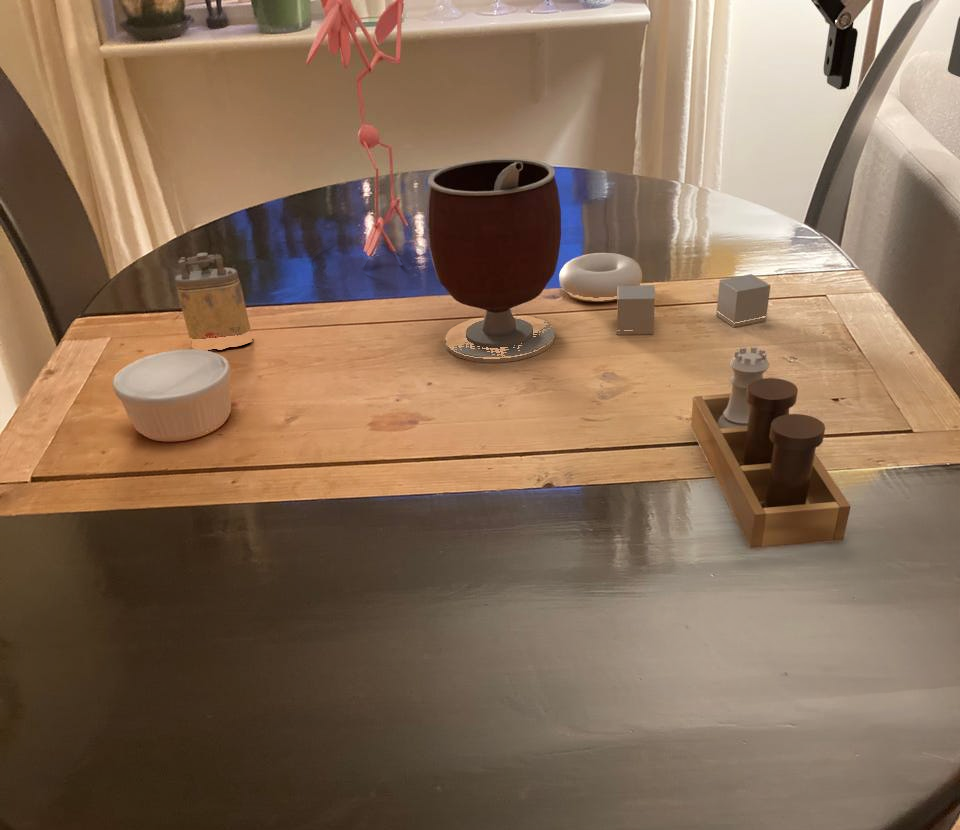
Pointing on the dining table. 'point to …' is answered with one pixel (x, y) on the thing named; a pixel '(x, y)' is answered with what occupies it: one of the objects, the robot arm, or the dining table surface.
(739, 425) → the rook chess piece
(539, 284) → the mate gourd
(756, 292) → the grey block
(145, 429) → the ramekin
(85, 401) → the dining table surface
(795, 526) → the rack
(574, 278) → the donut
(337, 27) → the figurine
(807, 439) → the walnut rook
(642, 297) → the grey block
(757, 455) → the walnut rook
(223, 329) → the lighter
